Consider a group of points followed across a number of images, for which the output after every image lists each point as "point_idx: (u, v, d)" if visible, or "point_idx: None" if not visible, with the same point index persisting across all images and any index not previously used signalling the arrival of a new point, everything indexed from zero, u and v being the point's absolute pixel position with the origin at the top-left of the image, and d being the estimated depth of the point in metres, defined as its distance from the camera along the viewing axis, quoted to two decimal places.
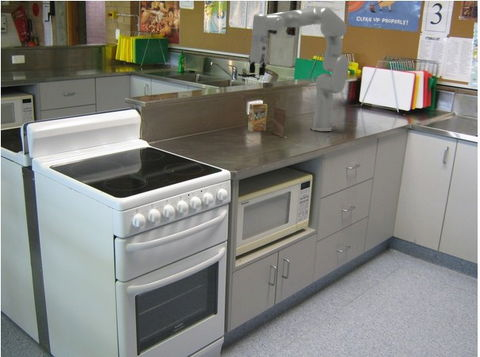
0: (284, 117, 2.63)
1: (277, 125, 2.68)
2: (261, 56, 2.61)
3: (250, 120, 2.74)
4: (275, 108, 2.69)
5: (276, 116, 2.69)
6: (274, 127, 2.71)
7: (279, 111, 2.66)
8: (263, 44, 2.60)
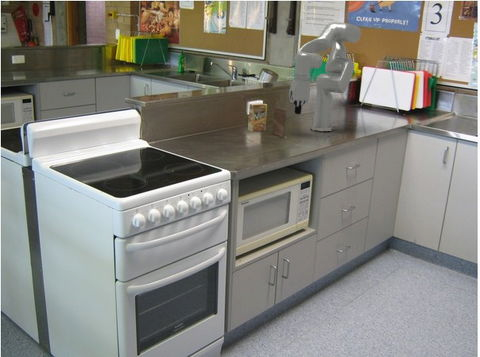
0: (284, 117, 2.63)
1: (277, 125, 2.68)
2: None
3: (250, 120, 2.74)
4: (275, 108, 2.69)
5: (276, 116, 2.69)
6: (274, 127, 2.71)
7: (279, 111, 2.66)
8: None
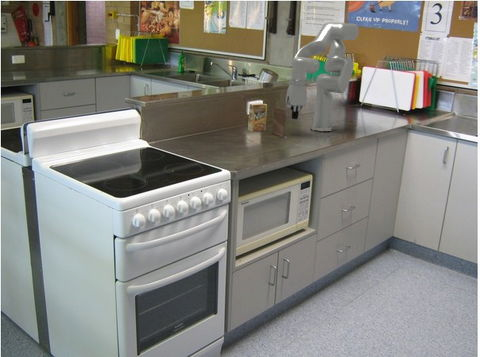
0: (284, 117, 2.63)
1: (277, 125, 2.68)
2: None
3: (250, 120, 2.74)
4: (275, 108, 2.69)
5: (276, 116, 2.69)
6: (274, 127, 2.71)
7: (279, 111, 2.66)
8: None
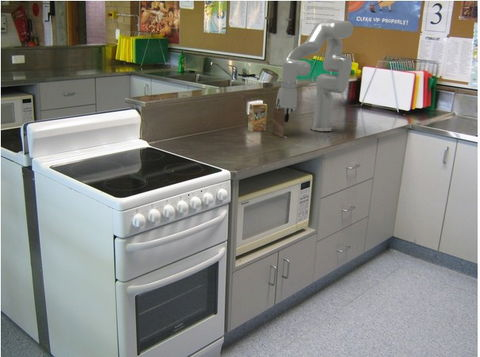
0: (283, 117, 2.62)
1: (277, 125, 2.68)
2: None
3: (250, 120, 2.74)
4: (274, 108, 2.69)
5: (275, 116, 2.68)
6: (274, 127, 2.71)
7: (278, 111, 2.65)
8: None
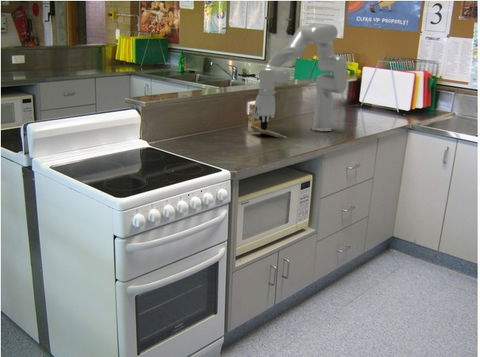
0: (266, 133, 2.60)
1: None
2: None
3: (250, 120, 2.74)
4: (252, 128, 2.67)
5: None
6: None
7: None
8: None
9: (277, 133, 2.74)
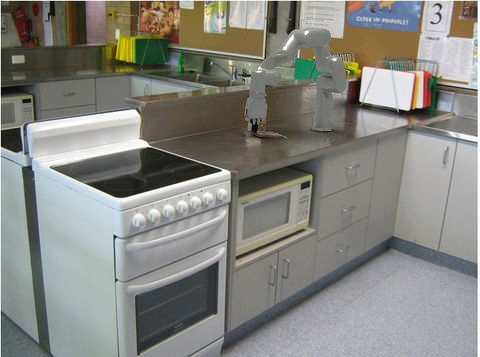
0: (265, 136, 2.61)
1: None
2: None
3: None
4: None
5: None
6: None
7: None
8: None
9: (277, 133, 2.74)
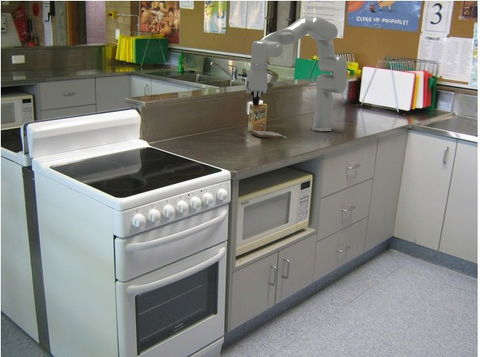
0: (265, 136, 2.61)
1: None
2: None
3: (250, 120, 2.74)
4: None
5: None
6: None
7: None
8: None
9: (277, 133, 2.74)
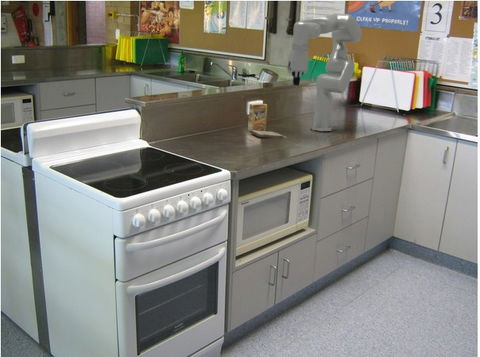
0: (265, 136, 2.61)
1: None
2: None
3: (250, 120, 2.74)
4: None
5: None
6: None
7: None
8: None
9: (277, 133, 2.74)
